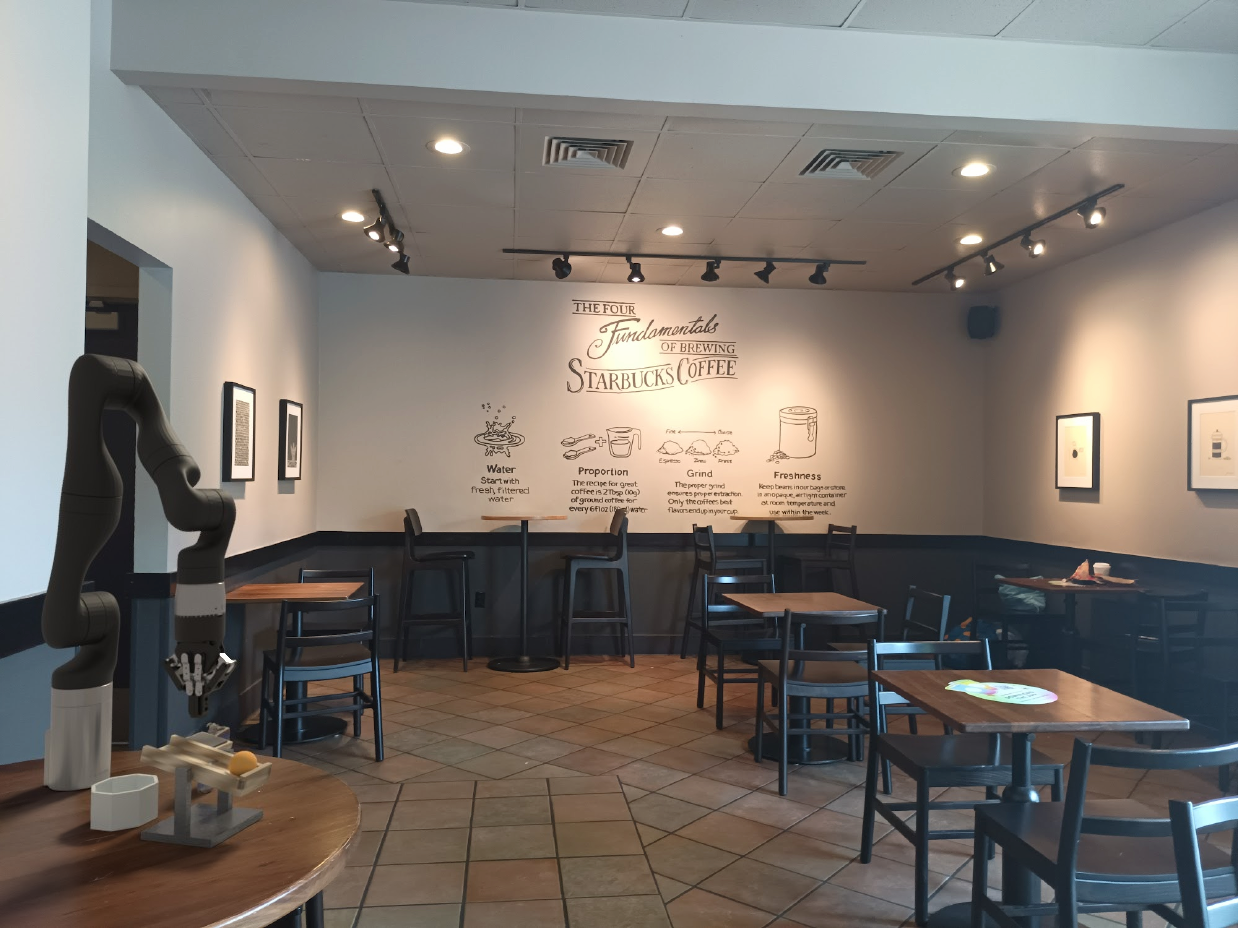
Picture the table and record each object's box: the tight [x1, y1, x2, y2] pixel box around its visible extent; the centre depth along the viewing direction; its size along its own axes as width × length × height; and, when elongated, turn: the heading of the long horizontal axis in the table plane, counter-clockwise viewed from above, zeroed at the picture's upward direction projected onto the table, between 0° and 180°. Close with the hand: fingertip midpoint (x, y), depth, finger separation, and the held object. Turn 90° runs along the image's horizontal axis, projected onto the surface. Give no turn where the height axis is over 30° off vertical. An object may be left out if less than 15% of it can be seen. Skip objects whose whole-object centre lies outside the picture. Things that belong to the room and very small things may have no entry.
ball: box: [229, 750, 258, 777], centre depth 131 cm, size 4×4×4 cm
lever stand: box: [140, 748, 264, 849], centre depth 132 cm, size 12×12×11 cm
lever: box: [139, 731, 273, 798], centre depth 135 cm, size 18×14×3 cm
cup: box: [89, 773, 160, 832], centre depth 135 cm, size 9×9×6 cm
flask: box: [196, 722, 231, 795], centre depth 151 cm, size 9×3×11 cm, turn 2°
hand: (198, 717), depth 140 cm, fingers closed
